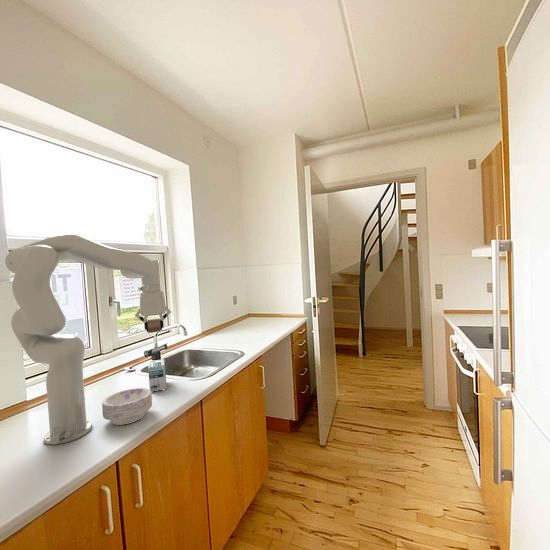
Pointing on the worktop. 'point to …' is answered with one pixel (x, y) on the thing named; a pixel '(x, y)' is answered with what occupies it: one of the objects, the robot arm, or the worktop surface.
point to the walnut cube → (154, 325)
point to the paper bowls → (127, 405)
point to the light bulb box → (157, 375)
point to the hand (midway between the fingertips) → (154, 330)
